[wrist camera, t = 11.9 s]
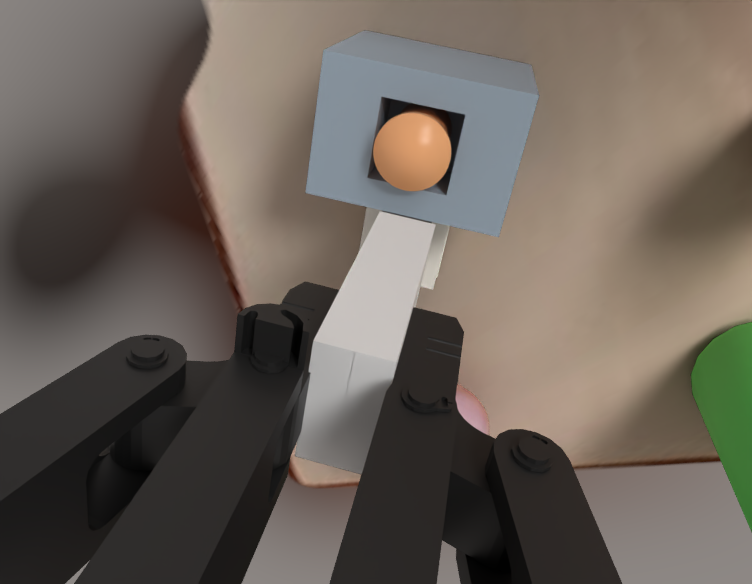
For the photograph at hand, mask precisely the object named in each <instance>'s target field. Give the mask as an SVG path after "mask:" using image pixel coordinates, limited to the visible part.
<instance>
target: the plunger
mask: <svg viewBox="0 0 752 584" xmlns="http://www.w3.org/2000/svg"><path fill="white" fill-rule="evenodd" d="M451 134H452V124H451V120H450V117H449V115H448V114H447V112H446V111H445V110H442V109H437V108H432V107H428V106H423V105H418V104H414V103H411V104H409V105H407V106H406V107H405V108H404V109H403V110H402V111H401V113H400V114H398V115H396V116H394V117H393V118H391V119H390V120H389V121H387V122H386V123H385V124H384V126H383V127H382V128H381V130H380V131H379V133H378V135H377V137H376V139H375V143H374V148H373V156H374V161H375V165H376V167H377V170H378V171H379V173H380V175H381V176H382V177H383V178H384V179H385V180H386V181H387V182H388V183H389V184H391V185H392V186H394V187H396V188H398V189H401V190H405V191H420V190H424V189H427V188H429V187H431V186H433V185H434V184H436V183H437V182H438V181H439V180H440V179H441V178H442V177H443V176H444V174H445V173H446V171H447V169H448V166H449V163H450V159H451V152H452V148H451V141H450V138H451Z"/></svg>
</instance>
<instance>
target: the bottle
mask: <svg viewBox="0 0 752 584" xmlns="http://www.w3.org/2000/svg"><path fill="white" fill-rule="evenodd" d="M691 384H692V394H693V397H694V399H695V401H696V404H697V406H698V408H699V411H700V413H701V415H702V418H703V420H704V422H705V425H706V427H707V429H708V432H709V434H710V436H711V439H712V441H713V444H714V446H715V448H716V451H717V453H718V455H719V458H720V460H721V462H722V465H723V467H724V469H725V471H726V474H727V476H728V478H729V481H730V483H731V485H732V488H733V490H734V492H735V495H736V497H737V499H738V502H739V504H740V506H741V508H742V511H743V513H744V515H745V518H746V520H747V522H748V525H749V527H750V529H751V532H752V322H749V323H746V324H742V325H738V326H735V327H733V328H731V329H730V330H728V331H726V332H725V333H723V334H721V335H719V336H718V337H716V338H714V339H713V340H712V341H711V342H710V343H709V344H708V346H707V347H706V348H705V349H704V350H703V351H702V352H701V353H700V355H699V356H698V358H697V360H696V363H695V365H694V368H693V371H692V373H691Z"/></svg>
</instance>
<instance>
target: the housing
mask: <svg viewBox="0 0 752 584" xmlns="http://www.w3.org/2000/svg"><path fill="white" fill-rule="evenodd" d="M538 98H539V93H538V89H537V85H536V81H535V77H534V73H533V69H532V65H531V64H526V63H521V62H517V61H512V60H507V59H502V58H497V57H492V56H488V55H483V54H478V53H473V52H468V51H463V50H459V49H454V48H449V47H444V46H439V45H434V44H430V43H425V42H420V41H415V40H410V39H406V38H401V37H396V36H391V35H386V34H381V33H377V32H372V31H367V30H364V31H362V32H360V33H358V34H356V35H354V36H352V37H349V38H347V39H345V40H343V41H341V42H339V43H337V44H335V45H333V46H331V47H329V48H327V49H325V50H323V58H322V66H321V74H320V82H319V90H318V98H317V106H316V114H315V122H314V129H313V137H312V145H311V153H310V161H309V169H308V177H307V185H306V193H308V194H312V195H316V196H321V197H325V198H330V199H334V200H338V201H343V202H347V203H351V204H356V205H360V206H365V207H369V208H373V209H378V210H382V211H386V212H391V213H395V214H400V215H404V216H408V217H413V218H417V219H421V220H426V221H430V222H435V223H439V224H443V225H448V226H452V227H457V228H461V229H465V230H470V231H474V232H478V233H483V234H487V235H492V236H496V237H499V235H500V231H501V228H502V224H503V221H504V217H505V214H506V210H507V206H508V203H509V199H510V196H511V192H512V189H513V185H514V182H515V178H516V175H517V171H518V168H519V164H520V161H521V157H522V154H523V150H524V147H525V143H526V140H527V136H528V133H529V129H530V126H531V122H532V119H533V115H534V112H535V108H536V105H537V101H538ZM411 103H414V104H418V105H423V106H428V107H432V108H437V109H442V110H445V111H446V112H447V114H448V115H449V117H450V120H451V124H452V134H451V138H450V141H451V148H452V152H451V159H450V163H449V166H448V169H447V171H446V173H445V174H444V176H443V177H442V178H441V179H440V180H439V181H438V182H437V183H436V184H434V185H433V186H431V187H429V188H427V189H424V190H420V191H405V190H401V189H398V188H396V187H394V186H392V185H391V184H389V183H388V182H387V181H386V180H385V179H384V178H383V177H382V176H381V175H380V173H379V171H378V170H377V167H376V165H375V161H374V156H373V148H374V143H375V139H376V137H377V135H378V133H379V131H380V130H381V128H382V127H383V126H384V124H385V123H386V122H387V121H389V120H390V119H391V118H393V117H394V116H396V115H398V114H400V113H401V111H402V110H403V109H404V108H405V107H406V106H407V105H409V104H411Z"/></svg>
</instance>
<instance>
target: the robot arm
mask: <svg viewBox="0 0 752 584" xmlns="http://www.w3.org/2000/svg"><path fill="white" fill-rule="evenodd" d="M435 226H436V225H435V224H431V223H427V222H423V221H419V220H415V219H410V218H406V217H402V216H398V215H394V214H390V213H385V212H381V211H380V212H379V214H378V216H377V218H376V220H375V222H374V224H373V226H372V228H371V230H370V232H369V234H368V236H367V238H366V239H365V241H364V243H363V245H362V247H361V249H360V251H359V253H358V255H357V257H356V259H355V261H354V263H353V265H352V267H351V269H350V271H349V272H348V274H347V276H346V278H345V280H344V282H343V284H342V286H341V288H340V290H337V289H333V288H329V287H325V286H321V285H317V284H313V283H309V282H304V283H302V284H300V285H298V286H296V287H294V288H292V289H290V290H289V292H288V293H287V295H286V296H285V298H284V299H283V301H282V304H280V305H277V304H257V305H254V306H251V307H247V308H245V309H244V310H242V311H241V312H240V313H239V314H238V317H237V328H236V340H235V350H234V353H233V355H232V356H231V358H230V359H229V360H226V361H219V362H203V361H202V362H201V361H187V360H186V359H187V353H186V352H185V350H184V348H183V346H182V345H181V344H179V343H178V342H176V341H174V340H173V339H170V338H166V337H163V336H158V335H141V336H134V337H130V338H127V339H125V340H122V341H120V342H118V343H116V344H114V345H113V346H111V347H110V348H108V349H106V350H105V351H103V352H101V353H100V354H98V355H96V356H95V357H94V358H91V359H90V360H89V361H87V362H85V363H83V364H82V365H80V366H78V367H77V368H75V369H73V370H72V371H70V372H69V373H67V374H65V375H64V376H62V377H60V378H59V379H57V380H55V381H54V382H52V383H51V384H49V385H47V386H46V387H44V388H42V389H41V390H39V391H37V392H36V393H34V394H32V395H31V396H29V397H28V398H26V399H24V400H23V401H21V402H19V403H18V404H16V405H14V406H13V407H11V408H9V409H8V410H6V411H4V412H3V413H1V414H0V584H65V583H66V582H67V581H68V580H69V579H70V578H71V577H72V576H74V575H75V574H76V573H77V572H78V571H79V570H80V569H81V568H82V567H83V566H84V565H85V564H86V563H87V562H88V561H89V560H90V561H89V563H88V564H87V566H86V568H85V569H84V570H83V572H82V573H81V575H80V576H79V577H78V579H77V580H76V582H75V583H74V584H241V583H242V581H243V579H244V576H245V574H246V571H247V569H248V567H249V565H250V562H251V560H252V558H253V555H254V553H255V550H256V548H257V546H258V543H259V541H260V539H261V536H262V534H263V532H264V529H265V527H266V525H267V522H268V520H269V518H270V515H271V513H272V511H273V508H274V506H275V504H276V501H277V499H278V497H279V494H280V492H281V490H282V487H283V485H284V483H285V480H286V478H287V475H288V469H289V462H290V456H291V454H292V452H293V449H294V447H295V445H296V442H297V446H296V453H295V456H296V457H300V458H303V459H307V460H311V461H314V462H318V463H322V464H325V465H329V466H332V467H336V468H340V469H343V470H347V471H351V472H354V473H358V474H362V475H361V478H360V482H359V485H358V488H357V492H356V496H355V499H354V502H353V506H352V509H351V513H350V516H349V519H348V523H347V526H346V529H345V533H344V536H343V540H342V543H341V546H340V550H339V553H338V556H337V560H336V563H335V567H334V570H333V573H332V577H331V580H330V584H436V583H437V575H438V567H439V560H440V551H441V543H442V540H443V541H445V542H446V543H448V544H450V545H451V546H453V547H455V548H456V560H457V565H458V571H459V577H460V582H461V584H622V582H621V580H620V578H619V575H618V573H617V570H616V568H615V566H614V564H613V561H612V559H611V556H610V554H609V552H608V549H607V547H606V545H605V542H604V540H603V537H602V535H601V533H600V530H599V528H598V526H597V524H596V521H595V519H594V517H593V514H592V512H591V509H590V507H589V505H588V502H587V500H586V498H585V495H584V493H583V491H582V488H581V486H580V484H579V481H578V479H577V477H576V474H575V472H574V469H573V467H572V465H571V462H570V460H569V459H568V457H567V456H566V454H565V453H564V451H563V450H562V449H561V448H560V447H559V446H558V445H557V444H555V443H554V442H553V441H552V440H551V439H549V438H547V437H545V436H543V435H541V434H538V433H536V432H532V431H528V430H523V429H514V430H507V431H505V432H503V433H500V434H499V435H498V436H497V438H496V439H495V438H493V437H491V436H489V435H487V434H485V433H483V432H481V431H480V430H478V429H476V428H475V427H473V426H472V425H471V424H470V423H468V422H467V421H466V420H465V419H464V418H463V416H462V415H461V414H460V413H459V411H458V408H457V402H456V390H457V382H458V374H459V367H460V357H461V351H462V343H463V335H464V331H463V329H462V327H461V326H460V324H459V322H458V320H457V318H454V317H451V316H447V315H443V314H439V313H435V312H431V311H427V310H423V309H419V308H416V303H417V299H418V295H419V291H420V287H421V283H422V279H423V275H424V271H425V267H426V262H427V258H428V254H429V250H430V246H431V242H432V238H433V234H434V230H435Z"/></svg>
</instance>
